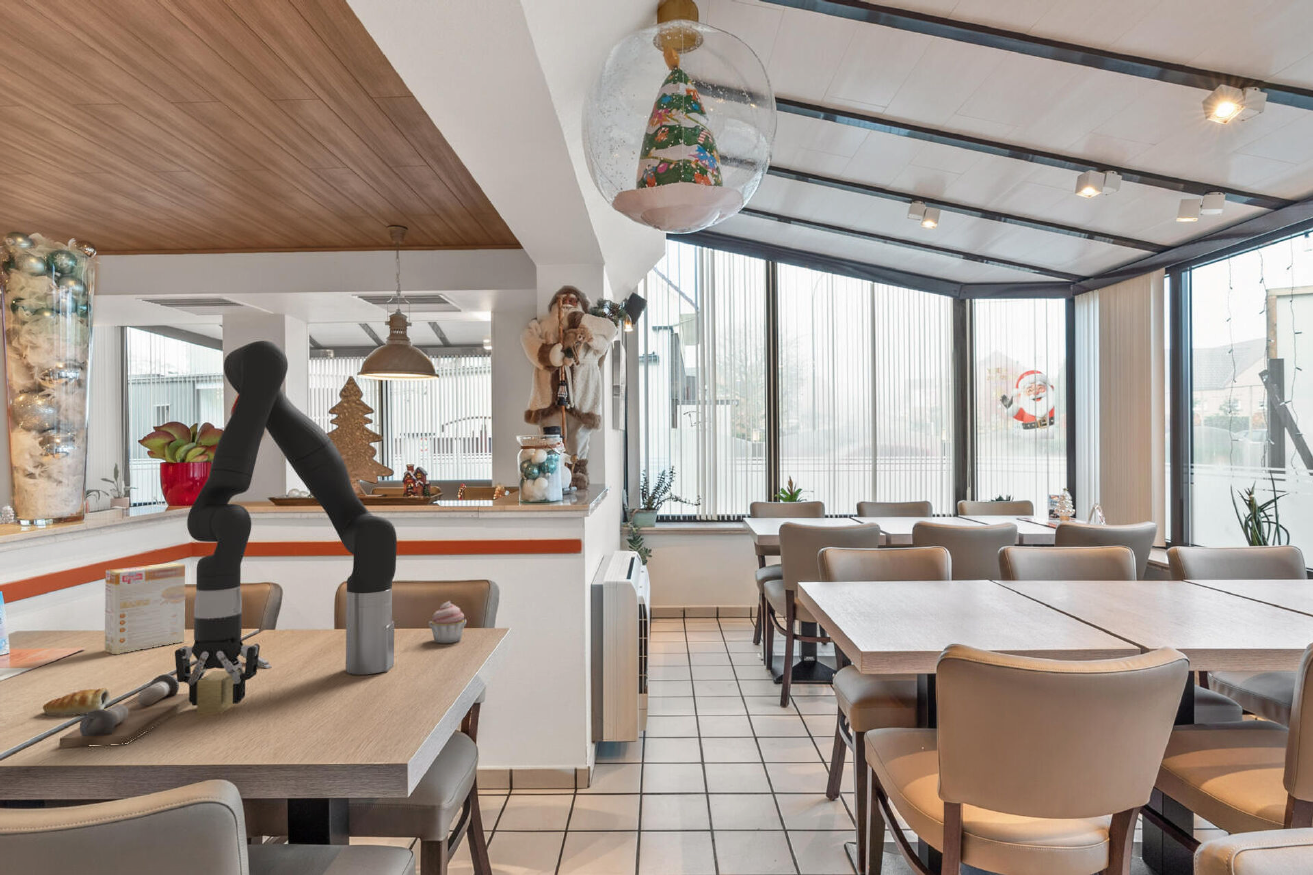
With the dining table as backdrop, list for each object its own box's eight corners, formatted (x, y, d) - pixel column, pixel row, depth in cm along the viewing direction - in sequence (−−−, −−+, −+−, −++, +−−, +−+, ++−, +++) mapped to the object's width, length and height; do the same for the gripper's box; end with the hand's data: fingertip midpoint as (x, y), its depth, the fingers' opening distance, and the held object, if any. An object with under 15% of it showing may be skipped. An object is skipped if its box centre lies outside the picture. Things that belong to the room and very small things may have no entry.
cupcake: (461, 645, 177) (461, 604, 177) (423, 645, 177) (423, 604, 177) (471, 636, 186) (471, 597, 187) (435, 636, 186) (435, 597, 187)
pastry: (36, 721, 127) (36, 699, 128) (52, 709, 134) (52, 688, 134) (100, 714, 131) (100, 692, 131) (113, 702, 137) (113, 682, 137)
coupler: (236, 702, 136) (236, 670, 137) (220, 713, 130) (221, 679, 131) (213, 703, 136) (213, 671, 136) (197, 714, 130) (197, 680, 130)
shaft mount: (194, 701, 137) (195, 672, 137) (127, 744, 116) (127, 710, 116) (138, 703, 136) (138, 674, 136) (59, 747, 115) (60, 713, 115)
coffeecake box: (173, 638, 185) (174, 561, 186) (185, 642, 181) (186, 564, 182) (103, 651, 173) (104, 569, 174) (114, 655, 169) (115, 571, 170)
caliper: (217, 656, 169) (217, 629, 169) (221, 655, 170) (222, 628, 170) (267, 670, 158) (267, 641, 158) (272, 668, 159) (272, 640, 159)
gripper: (267, 606, 138) (266, 695, 138) (187, 609, 137) (186, 698, 136) (250, 615, 131) (249, 708, 130) (165, 617, 129) (163, 712, 129)
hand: (217, 702), depth 133 cm, fingers open, 6 cm apart
